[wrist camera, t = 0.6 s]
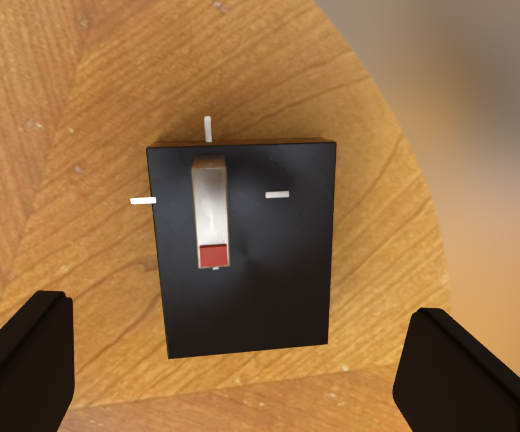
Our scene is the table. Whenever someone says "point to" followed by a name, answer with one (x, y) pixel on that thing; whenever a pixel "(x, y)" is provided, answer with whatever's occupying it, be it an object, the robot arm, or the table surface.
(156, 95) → the table surface
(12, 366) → the robot arm
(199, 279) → the panel
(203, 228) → the hob knob
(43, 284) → the table surface
